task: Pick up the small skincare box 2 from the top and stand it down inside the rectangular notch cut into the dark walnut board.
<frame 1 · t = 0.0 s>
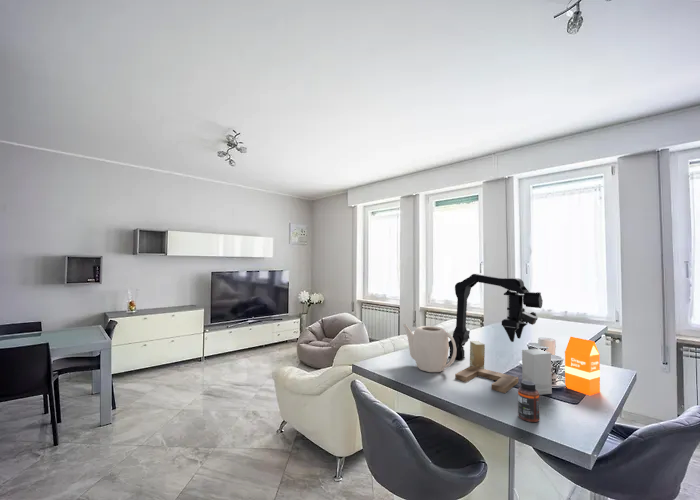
hand: (515, 340, 142), 15 cm above the counter, tool pointing down, fingers open, 9 cm apart
skincare box: (536, 392, 121), on the counter
notched board: (486, 380, 131), on the counter
watering can: (427, 368, 145), on the counter
orange juice: (582, 390, 123), on the counter
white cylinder: (546, 372, 143), on the counter
supplement bottle: (528, 419, 99), on the counter
skincare box 2: (477, 369, 146), on the counter
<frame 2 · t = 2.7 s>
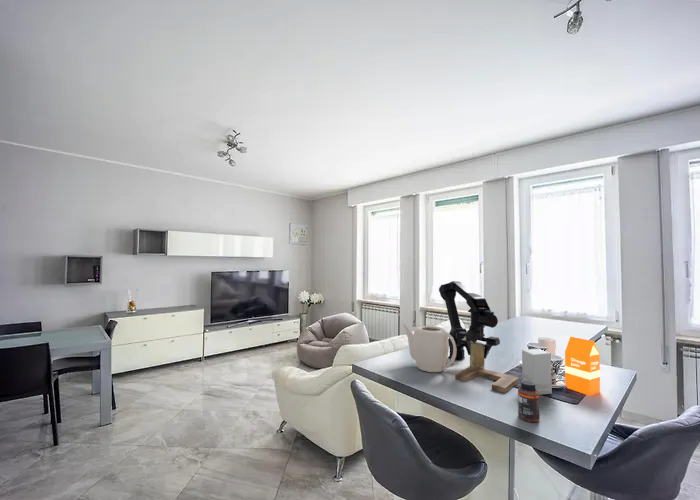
hand: (477, 356, 146), 6 cm above the counter, tool pointing down, fingers closed on skincare box 2, 7 cm apart
skincare box 2: (477, 369, 146), on the counter, touching gripper
everything else where it was.
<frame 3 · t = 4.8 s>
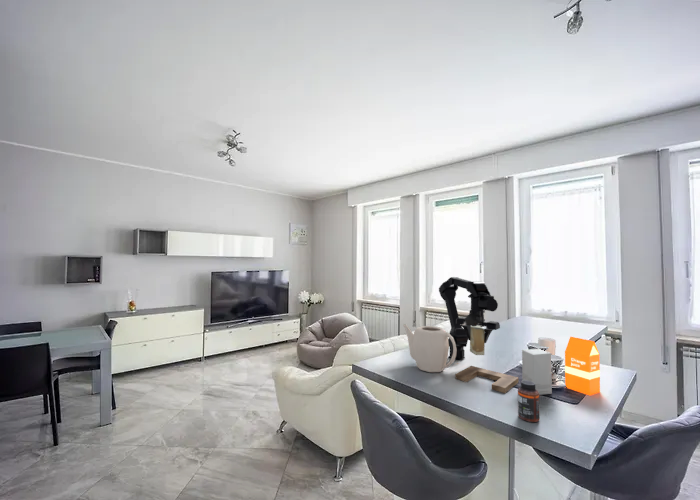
hand: (477, 341, 146), 13 cm above the counter, tool pointing down, fingers closed on skincare box 2, 7 cm apart
skincare box 2: (477, 353, 146), point 7 cm above the counter, touching gripper
everything else where it was.
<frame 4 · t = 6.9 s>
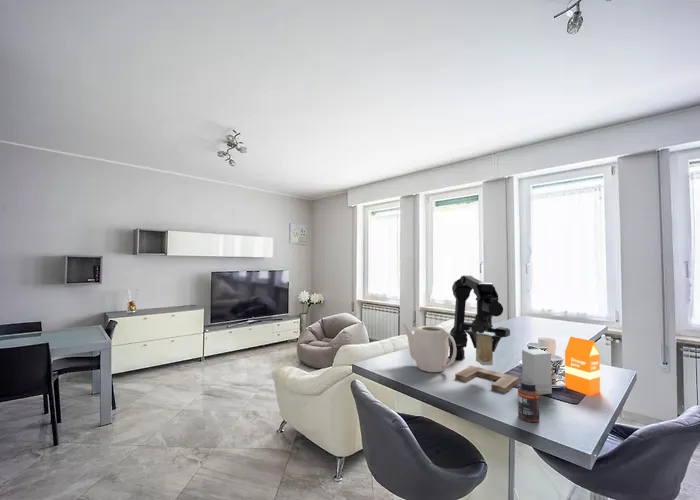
hand: (484, 350, 130), 13 cm above the counter, tool pointing down, fingers closed on skincare box 2, 7 cm apart
skincare box 2: (484, 363, 130), point 7 cm above the counter, touching gripper
everything else where it was.
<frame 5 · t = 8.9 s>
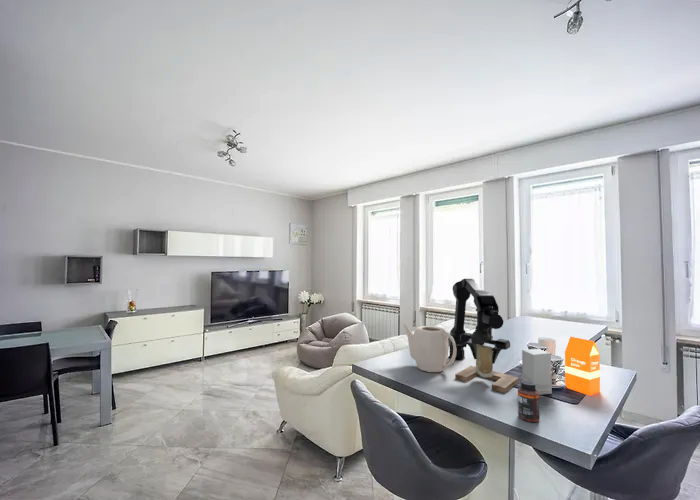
hand: (484, 361, 130), 8 cm above the counter, tool pointing down, fingers closed on skincare box 2, 7 cm apart
skincare box 2: (484, 375, 130), point 3 cm above the counter, touching gripper
everything else where it was.
when the fingers open (7 cm above the counter, at t = 10.7 s): skincare box 2 drops 1 cm, on the counter.
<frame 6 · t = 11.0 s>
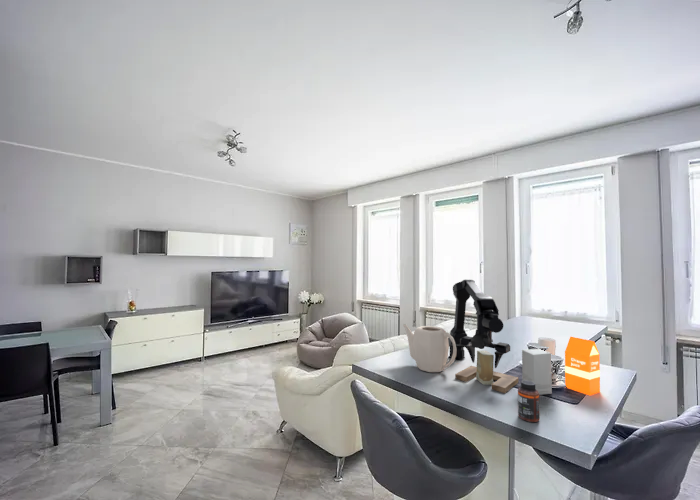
hand: (484, 365, 130), 7 cm above the counter, tool pointing down, fingers open, 9 cm apart
skincare box 2: (484, 382, 129), on the counter
everything else where it was.
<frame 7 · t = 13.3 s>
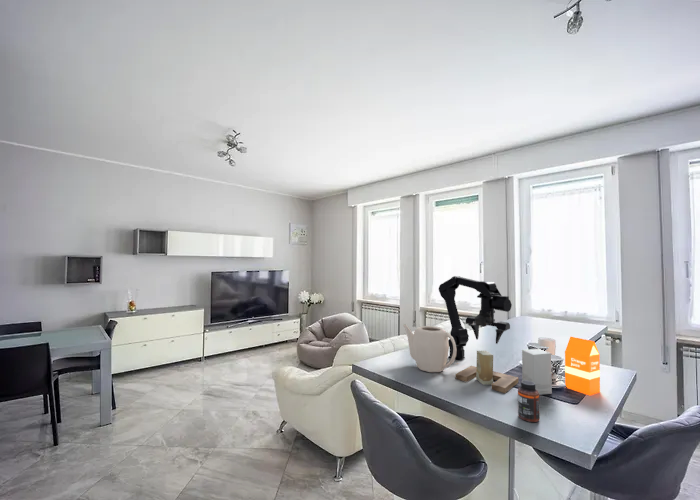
hand: (486, 341, 147), 13 cm above the counter, tool pointing down, fingers open, 9 cm apart
nothing on the counter moved.
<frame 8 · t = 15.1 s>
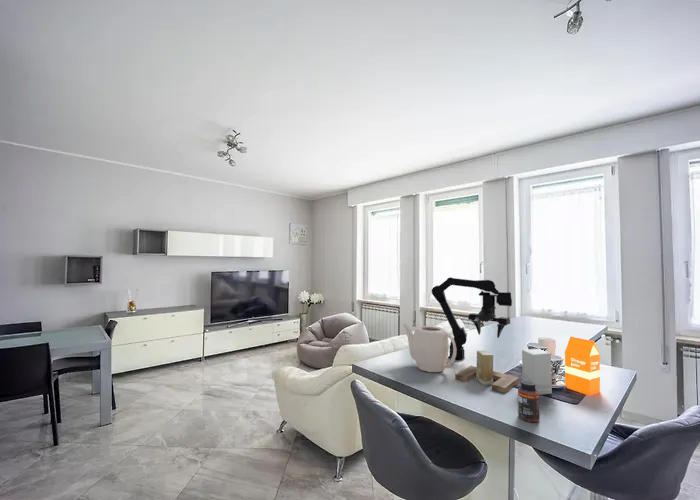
hand: (488, 336, 156), 13 cm above the counter, tool pointing down, fingers open, 9 cm apart
nothing on the counter moved.
at the end: skincare box 2 inside the target area on the notched board (0.1 cm from its centre), point 0.0 cm above the notched board's base; skincare box 2 tilted 0°; the gripper is holding nothing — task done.
